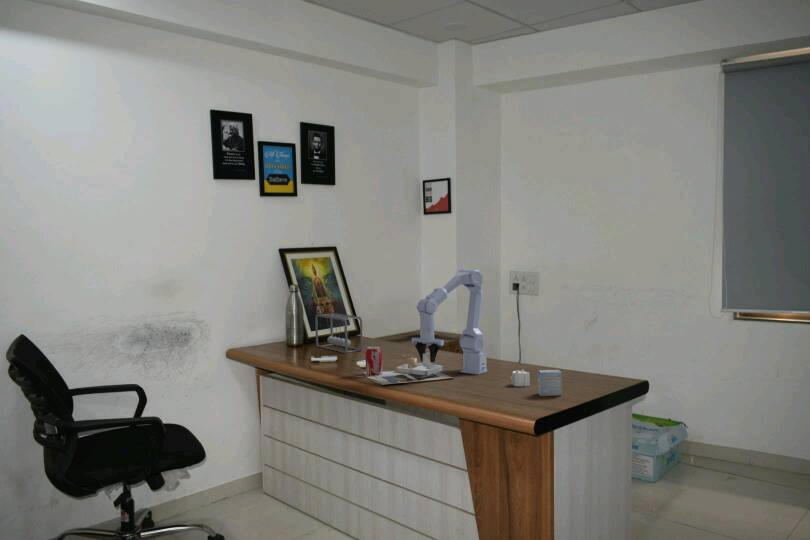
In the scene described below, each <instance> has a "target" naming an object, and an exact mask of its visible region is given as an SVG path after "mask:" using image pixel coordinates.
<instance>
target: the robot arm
mask: <svg viewBox="0 0 810 540" xmlns="http://www.w3.org/2000/svg"><path fill="white" fill-rule="evenodd" d="M483 281H484V275H483V274H482V272H481V271H480V270H479V269H466V268H461V269H459V270H458V271H457V272H455V275H454V276H453V277H452V278H451V279H450V280H449V281H448V282H447V283H445V285H443V287H436V288H434V289H433V291H432V292H431V293H430V294H429V295H427V296H426V297H425V298H422V299H420V300H419V301H418V303H417V305H416V309H417V312H418V316H419V331H420V337H411V344H414V348H416V350H417V352H418V355H419V358H420V362H423V353H426V350H427V347H428V349H429V353H430V361H431V363H433V364H434V363H435V362H436V358H437V354H438V352H439V349H440V348H441V347H442V346H444V345H445V343H444V342H445V341H444V339H438V338H435V313H436V312H437V309H438V307H439V306H440V305H441V304H442V303H443V302H444V301H446V300H447V298H448V295H449V294H450V293H451V292H452V291H455V289H457V288H458V287H459V286H460V285H463V286H464V287H466V289H468V291H469V302H468V308H467V309H468V312H467V318H466V319H467V320H466V328H465V329H463V331H462V332H461V336H460V338H459V346H460V348H461V349H462V350H461V351H462V353H463V354H462V355H463V358H462V359H463V360H462V361H463V363H462V364H463V366H462V367H463V369H462V370H460V371H459V373H462V374H463V373H465V374H471V375H481V374H484V373H487V372H488V369H487V354H486V353H485V352H482V350H483V348H484V346H485V345H484V344H485V341H484V334H483V333H482V331H481V330H480V326H481V316H482V308H483V307H482V306H483V299H484V284H483ZM427 345H428V346H427Z"/></svg>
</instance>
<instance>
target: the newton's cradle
mask: <svg viewBox="0 0 810 540" xmlns="http://www.w3.org/2000/svg"><path fill="white" fill-rule="evenodd" d="M319 317H320V318H323V319H324V318H325V319H329V321H328V320H326V321H327V323H329V322H330V323H329V325H330V326H329V325H327V327H328V328H329V330H328V332H329V334H330V335H329V336H328V337H327V342H328V343H330V344H325V345H323V344H322V345H321V344H320V345H319V332H318V331H319V330H318V328H319V327H318V325H319V324H318V323H319V322H318V318H319ZM353 319H354V320H355V319H357V320H359V323H360V324H359V332H360V334H359V335H360V339H359V340H360V348H357V347H354V346H350V345H351V344H352V343H351V342H352V341H351V340H350V339H349V337H348V333H349V331H350V329H348V325H350V324H351V320H353ZM347 320H349V323H348V321H347ZM314 321H315V323H314V325H315V345H316V347H317V348H319V347H320V349H324V348H325V350H328V349H329V350H328V351H332V350H334V351H333V352H336V351H338V352H337V353H342V354H347V353H351V352H361V351H363V349H364V347H363V346H364V344H363V343H364V340H363V339H364V338H363V337H364V335H363V318H361V316H355V315H349V314H344V313H343V314H342V313H336V312H332V313H326V314H319V313H317V314H316V315H315V318H314ZM335 321H336V322H340V323H338V324H339V332H341V329H342V328H341V327H342V326H341V323H342V325H343V332H344V334H343V335H342V334H341V333H334V329H333V328H334V326H335V331H338V329H337V328H338V326H337V323H335ZM333 323H334V324H335V325H334V326H333ZM336 335H337V336H336ZM340 336H341V337H340ZM335 345H336V347H339V346H341V347H340V348H343V347H345V348H344V349H345V350H341V349H337V348H332V347H328V346H335ZM348 348H349V351H348ZM352 349H354V350H352Z"/></svg>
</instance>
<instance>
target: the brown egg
mask: <svg viewBox="0 0 810 540" xmlns="http://www.w3.org/2000/svg"><path fill="white" fill-rule="evenodd" d="M417 363H418V358H417V357H408V358H407V363H406V364H407V365H408V368H410V369H412V368H415V367H417Z"/></svg>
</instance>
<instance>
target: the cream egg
mask: <svg viewBox="0 0 810 540" xmlns="http://www.w3.org/2000/svg"><path fill="white" fill-rule="evenodd" d="M422 363H423V366H424V367H431V366H433V365H434V362H433V363H431V361H430V352H425V353H423V361H422Z"/></svg>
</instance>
